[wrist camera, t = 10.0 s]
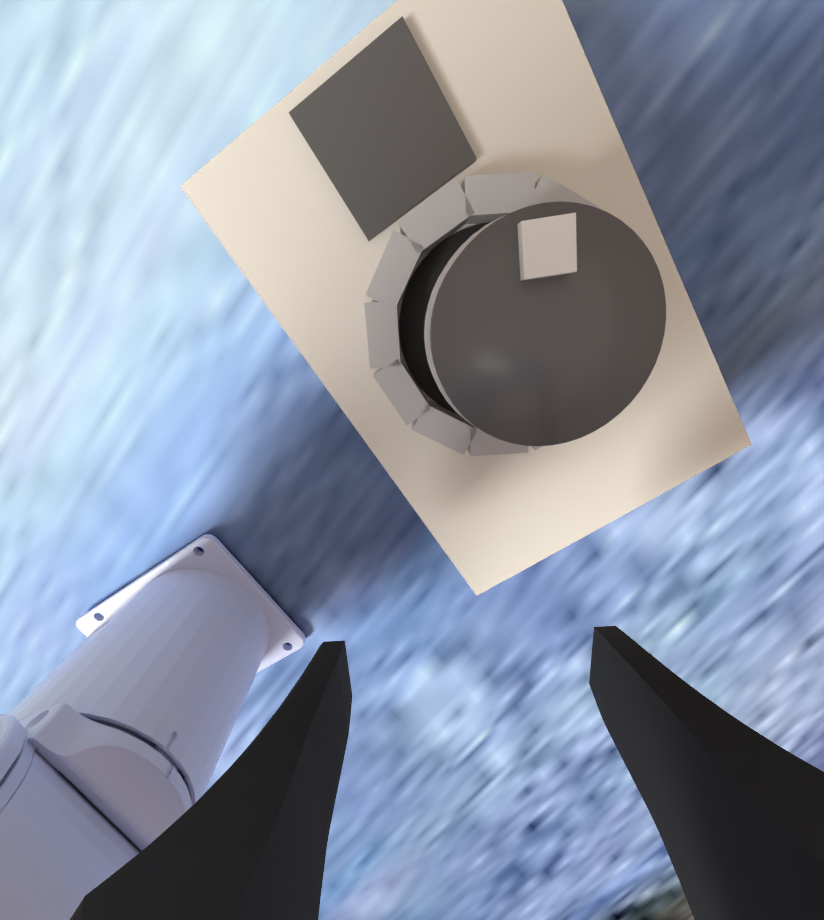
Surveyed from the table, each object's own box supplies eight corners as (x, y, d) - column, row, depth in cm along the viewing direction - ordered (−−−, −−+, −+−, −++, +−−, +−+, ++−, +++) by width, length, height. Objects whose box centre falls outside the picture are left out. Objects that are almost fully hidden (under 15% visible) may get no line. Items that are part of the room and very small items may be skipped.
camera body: (464, 547, 22) (481, 614, 17) (231, 217, 17) (158, 173, 12) (685, 420, 20) (778, 453, 15) (490, 5, 15) (530, -153, 10)
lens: (568, 391, 15) (673, 438, 9) (429, 411, 15) (442, 469, 9) (564, 237, 14) (688, 170, 8) (410, 261, 14) (410, 213, 8)
